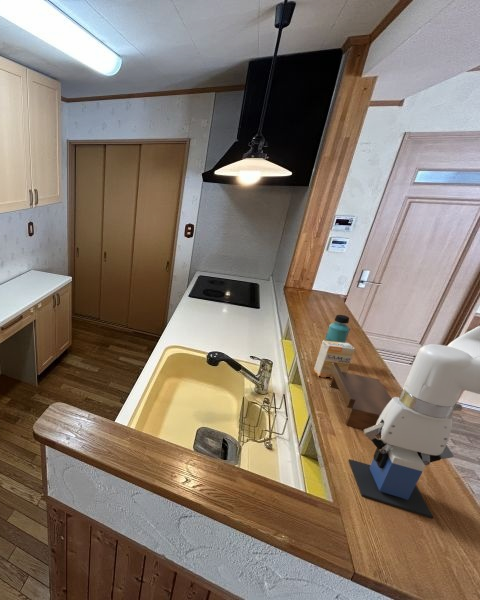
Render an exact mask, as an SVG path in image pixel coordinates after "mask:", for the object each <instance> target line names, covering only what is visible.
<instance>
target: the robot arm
mask: <svg viewBox="0 0 480 600" xmlns="http://www.w3.org/2000/svg"><path fill="white" fill-rule="evenodd" d="M400 391H401V392H400V394H399V396H393V397H391V398H392V399H391V401H390V402H389V403H388V404H387V405H386V407H385V408H384V410H383V411H382V413H381V415H380V417H379V419H378V420H377V423H376V425H374V426H372V427H369V428H367V429H364V430H363V429H362V430H363V433H364V435H365V437H366V438H368V440H370V441H371V442H372V444H373V445H374V446H375V451H374V454H373V455H372V456H373V458H374V460H375V461H376V463H377V465H378V467H379V468H384V466H385V463H386V461H387V459H388V454H387V452H388V451H389V450H390V449H391V448H392V447H393V446H398V447H402V448H405V449H409V450H413V451H416V452H417V454H418V455H419V457H420V458H421V460H422V461H423V463H424V465H425V466H429V465H431V463H433V462H439V461H441V460H445V459H452V458H454V454H453V452H452V451H451V449H450V448H449V446H448V445H447V444H448V442H449V439H450V436H451V432H452V428H453V418H454V417H453V415H452V414H453V412H454V411H459V412H461V411H462V410H463V405H462V404H461V403H457V402H458V400H459V398H460V396H461V393H462V392H463V391H467V392H470V393H472V394H473V393H474V394H476V395H480V325H478V326H476V327H474V328H473V329H470V330H469V331H467V332H464V333H463V334H461V335H459V336H458V337H457V338H454V339H453V340H452V341H450V342H449V343H448V344H447V345H445V344H436V343H429V344H424V345H422V346H421V347H420V348H419V350H418V352H417V354H416V356H415V358H414V361H413V363H412V365H411V368H410V370H409V372H408V375H407V377H406V379H405V382H404V384H403V387H402V388H401V390H400ZM379 433H381V434H380V437H377V435H379ZM373 458H372V459H373Z"/></svg>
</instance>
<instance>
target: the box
mask: <svg viewBox="0 0 480 600" xmlns="http://www.w3.org/2000/svg"><path fill="white" fill-rule="evenodd" d="M387 454H388V459H387V461H386V463H385V466H384V468H379V467H378V465H377V463H376V461H375V460H374V458H372V461H371V462H370V464H369V465H370V471H371V473H372V475H373V477H374V480H375V482H376V484H377V487H378V489H379V491H381V492H384V493H387V494H390V495H394V496H397V497H400V498H403V499H407V500H408V499H409V497H410V495H411V494H412V492H413V490H414V488H415V486H416V487H417V484H418V481H419V479H420V478H421V476H422V473H423V472H424V469H425V468H426V465H424V463H423V461H422V460H421V458H420V457H419V455H418V454H417V452H416V451H413V450H409V449H405V448H402V447H398V446H393V447H392V448H391V449H390V450H389V451H388V452H387Z"/></svg>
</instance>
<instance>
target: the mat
mask: <svg viewBox="0 0 480 600" xmlns="http://www.w3.org/2000/svg"><path fill="white" fill-rule="evenodd" d="M348 464H349V466H350V469H351V471H352V474H353V477H354V480H355V482H356V485H357V488H358V490H359V493H360V495H361V497H363V498H367V499H368V500H372V501H375V502H378V503H382V504H384V505H388V506H391V507H395V508H398V509H401V510H404V511H407V512H411V513H413V514H416V515H420V516H423V517H426V518H429V519H432V520H433V518H434V514H433V513H432V511H431V509H430V507H429V506H428V504H427V503H426V501H425V499H424V497H423V496H422V493H421V491H420V490H419V488H418V486H417V485H416V486H415V488H414V490H413V492H412V494H411V495H410V497H409V499H408V500H407V499H403V498H400V497H397V496H394V495H390V494H387V493H384V492H381V491H379V489H378V487H377V484H376V482H375V480H374V477H373V475H372V473H371V471H370V465H371V464H369V463H365V462H361V461H357V460H354V459H350V458H349V459H348Z"/></svg>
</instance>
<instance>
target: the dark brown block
mask: <svg viewBox="0 0 480 600" xmlns="http://www.w3.org/2000/svg"><path fill="white" fill-rule="evenodd" d="M330 370H331V372H332V375H333V376H332V378H330V379H331V380H330V383H329V387H330V388H332V389H333V388H334V389H338V390H339V392H340V394H341V397H342V399H343V401H344V403H345V405H346V408H349V411H348V415H347V418H346V420H345V425H346V426H347V427H352V428H356V429H359V430H364V429H367V428H369V427H372V426H374V425H376V423H377V420H378V419H379V417H380V415H381V413H382V411H383V410H384V408H385V407H386V405H387V404H388V403H389V402H390V401H391V399H392V398H393V397H391V395H390V394H389V392H388V390H387V389H386V388H385V386H384V384H383V383H382V381H381V380H380V379H379V378H374V377H369V376H365V375H359V374H354V373H349V372H347V373H345V372H341V371H340V369H339V367H338V365H337V363H334V362H332V365H331V368H330ZM330 385H331V386H330ZM332 386H333V387H332ZM379 434H380V435H381V433H379ZM379 434H378V435H379Z"/></svg>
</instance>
